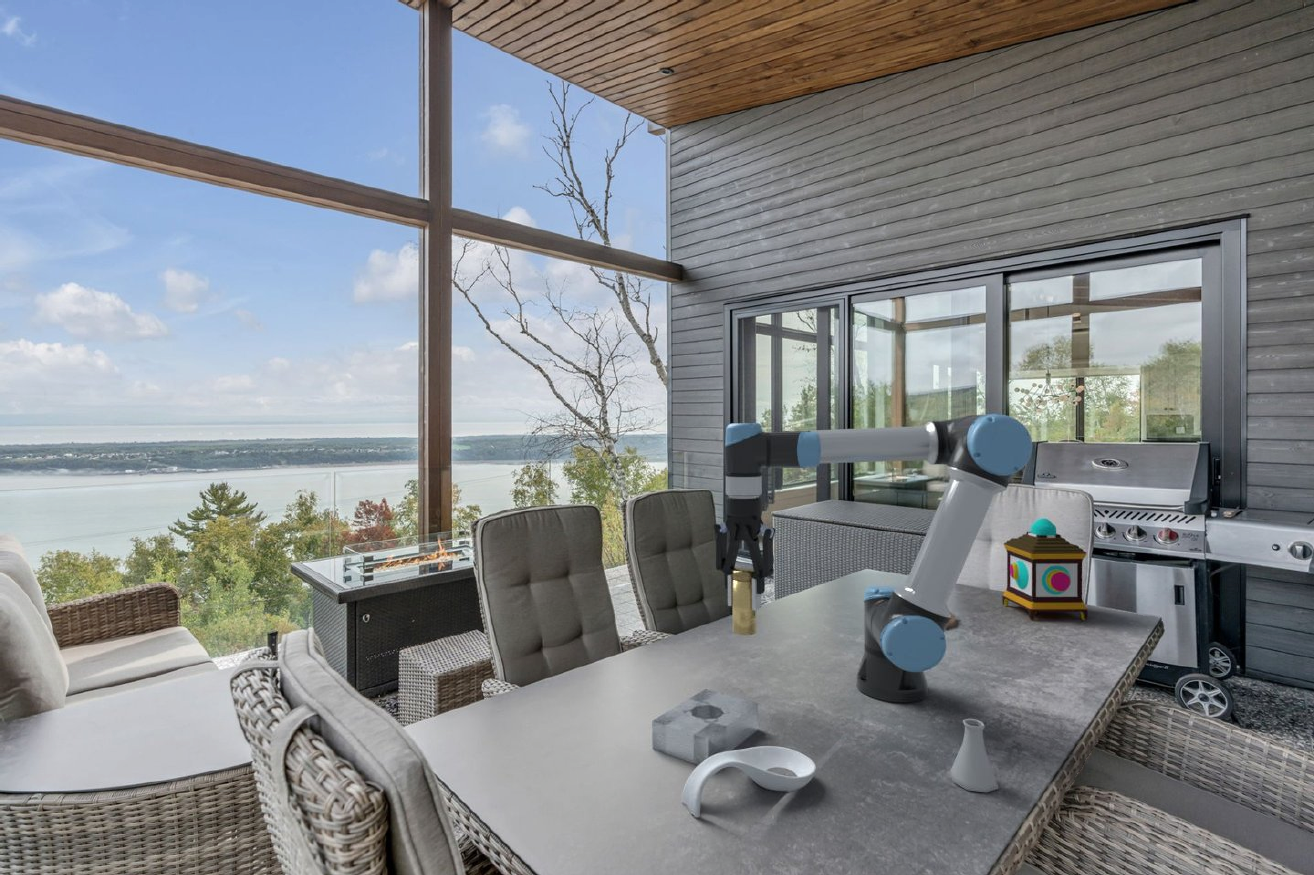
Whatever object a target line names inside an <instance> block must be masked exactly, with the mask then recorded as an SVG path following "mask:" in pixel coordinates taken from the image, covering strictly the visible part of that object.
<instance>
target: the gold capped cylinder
mask: <svg viewBox="0 0 1314 875" xmlns="http://www.w3.org/2000/svg"><path fill="white" fill-rule="evenodd" d="M754 577H755V573H754V569H753V567H747V566H746V567H744V566H743V567H742V566H740V567H734V569H732V595H733V606H732V632H733V633H734V634H737V635H740V636H751V635H755V634H757V632H758V630H757V625H758V624H757V610H758V609H757V610H752V578H754Z"/></svg>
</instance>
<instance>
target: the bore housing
mask: <svg viewBox="0 0 1314 875" xmlns="http://www.w3.org/2000/svg"><path fill="white" fill-rule="evenodd" d="M757 731H759V703H758V702H754V701H750V700H746V699H744V698H741V697H735V696H732V695H730V694H725V693H722V692H718V691H714V690H710V689H706V688H705V689H703V690H702V691H699V692H698V693H697V694H695V695H693V696H691V697H690V698H688V699H686V700H685V701H683V702H682V703H680V704H678V705H677V706H675V707H673V708H671V709H670V710H668V711H666V712H665V713H663V714H662V715H660V716H658V717H657V718H655V719H653V720H652V729H651V732H652V735H651V736H652V740H651V742H652V749H653V750H656V751H658V752H661V753H664V754H667V755H669V756H673V757H675V758H678V759H680V760H683V761H686V762H688V763H691V764H694V765H697V766H698V765H699V764H701V763H702V762H703V761H704V760H706V759H707V758H709V757H711V756H713V755H715V754H717V753H721V752H725V751H733V750H735V748H737V747H739V745H741V744H742V743H743V742H745V741H746V740H747V739H748V738H750V737H751V736H752V735H753V734H754V733H756V732H757Z"/></svg>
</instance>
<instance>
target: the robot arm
mask: <svg viewBox="0 0 1314 875" xmlns="http://www.w3.org/2000/svg"><path fill="white" fill-rule="evenodd" d="M724 451H725V495H726V496H727V497H726V498H725V513H726V518H725V521H724V522H719V523H715V524H714V525H713V529H714V533H715V536H716V537H715V569H716V570H717V571H720V572H722V573H723V574H724V576H723V577H724V589H726V590H727V606H728V607H733V595H732V569H734V568H736V563H737V558H738V553H739V549H740V545H741V543H742V541H743V542H745V543H746V546H747V547H748V550H749V551H748V552H749V555H750V559H751V560H750V561H751V565H752V568H753V569H754V573H755V577H754V578H752V610H759V609H761V608H762V594H764V593H765V591H766V587H765V586H766V585H765V584H766V583H765V582H766V578H768V577H770V576H772V575H774V572H775V571H774V537H775V534H776V528H774V527H769V526H766V525H764V522H763V519H762V515H763V499H762V497H761V496H762V491H763V489H762V487H763V485H762V480H763V479H762V478H763V476H762V474H763V473H762V471H763V470H762V469H770V468H771V469H773V468H775V469H778V468H779V469H802V470H804V469H812V468H813V469H814V468H817V467H819V465H820V464H834V463H835V464H836V463H837V464H838V463H840V464H842V463H843V464H844V463H846V464H848V463H871V462H872V463H874V462H875V463H876V462H878V463H879V462H880V463H881V462H908V461H909V462H912V461H913V462H914V461H925V462H927V463H928V464H929V465H930V466H931V465H932V466H933V465H944V466H945V465H946V471H947V472H948V474H949V476H950V477H949V478H950V479H949V481H948V483H947V486H946V488H945V490H944V493H943V494H942V498H941V500H940V502H939V504H938V507H937V509H936V511H935V514H934V515H933V518H932V520H931V522H930V525H929V527H928V530H927V532H926V535H925V536H924V539H923V541H922V544H921V546H920V549H919V551H918V553H917V556H916V557H915V560H914V563H913V565H912V567H911V570H910V571H909V574H908V577H907V579H906V581H905V584H904V585H902V586H895V585H893V586H892V585H876V586H875V585H874V586H870V587H867V588H866V589H865V591H864V598H863V602H864V608H863V612H864V617H863V618H864V628H863V629H864V632H863V633H864V635H863V636H864V649H863V650H864V652H863V655H862V658H861V661H860V664H859V667H858V670H857V672H856V687H857V690H858V691H859V692H861V693H863V694H864V695H866V696H868V697H872V698H874V699H878V700H880V701H887V702H893V703H914V702H918V701H922V700H924V699H926V698H927V696H928V693H929V692H928V691H929V688H928V687H929V686H928V680H927V678H926V677H927V676H926V675H925V671H928V670H931V669H933V668H934V667H936V666H937V665H939V663H940V662H941V661H942V659H943V658H944V656H945V654H946V651H947V639H946V635H945V631H946V630H947V629H946V627H947V625H948V622H949V620H950V617H951V614H950V612H951V611H950V609H949V607H948V606H949V605H948V603H949V600H950V597H951V596H952V594H953V592H954V588H955V587H956V585H957V582H958V580H959V578H960V576H961V573H962V571H963V569H964V566H965V563H966V561H967V559H968V556H969V554H970V552H971V549H972V547H973V545H974V543H975V540H976V538H977V536H978V534H979V531H980V529H981V527H982V524H983V522H984V520H985V517H986V515H987V513H988V510H989V509H990V506H991V504H992V501H993V499H994V497H995V495H996V494H997V495H998V494H999V493H1002V492H1005V491H1007V488H1008V486H1009V484H1010V482H1011V479H1012V477H1013V475H1014V474H1016V473H1018V472H1019V471H1021V470H1022V469H1023V468H1025V467H1026V465H1027V464H1028V462H1029V461H1030V459H1031V457H1032V453H1033V439H1032V437H1031V435H1030V433H1029V430H1028V428H1026V426H1025V425H1024V424H1023V423H1022V422H1020V421H1019V420H1018V419H1017V418H1014V417H1012V416H1009V415H1005V414H1000V413H993V412H992V413H987V414H971V415H967V416H961V417H957V418H952V419H945V420H933V421H928V422H926V424H924V425H922V426H920V425H919V426H893V427H870V428H869V427H868V428H867V427H866V428H845V429H844V428H843V429H819V430H794V431H791V430H783V431H780V432H779V431H777V432H776V431H775V432H774V431H773V432H768V431H763V429H762V425H761V423H759V422H750V423H749V422H743V423H742V422H737V423H736V422H735V423H733V422H732V423H729V424H728V425H727V426H726V428H725V444H724ZM727 531H728V532H729V533H730V535H729V540H728V539H727V538H728V536H727V535H728V534H727ZM760 533H761V536H762V542H761V544H762V546H761V548H762V552H761V548H760V540H759V534H760ZM727 541H728V542H727ZM727 543H729V544H727ZM727 545H728V546H727Z"/></svg>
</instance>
